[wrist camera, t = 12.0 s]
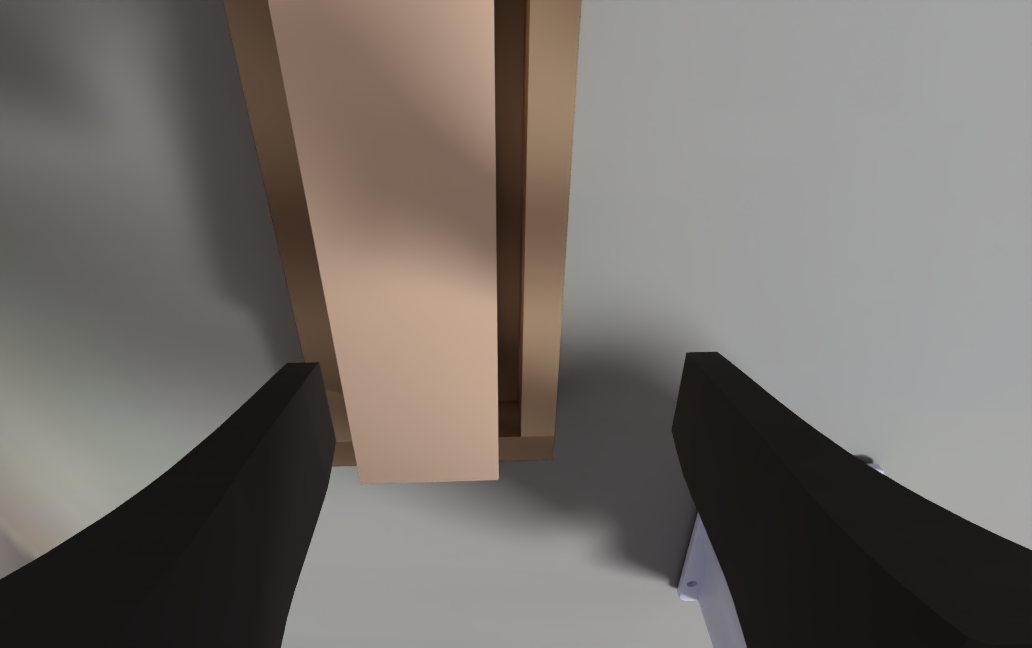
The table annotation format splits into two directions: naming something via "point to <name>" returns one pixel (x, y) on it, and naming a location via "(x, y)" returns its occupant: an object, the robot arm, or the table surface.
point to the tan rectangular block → (403, 221)
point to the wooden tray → (519, 208)
